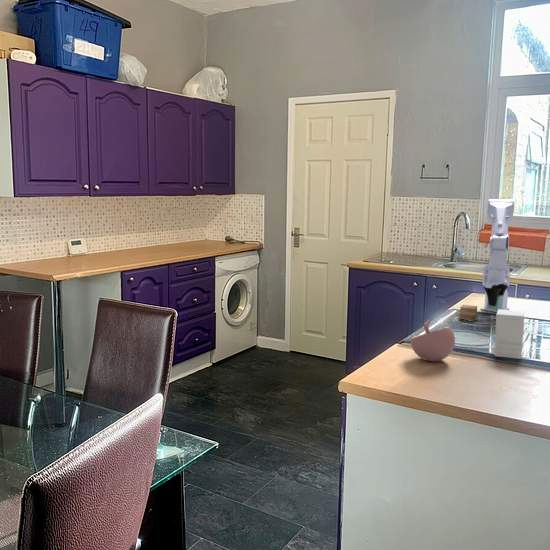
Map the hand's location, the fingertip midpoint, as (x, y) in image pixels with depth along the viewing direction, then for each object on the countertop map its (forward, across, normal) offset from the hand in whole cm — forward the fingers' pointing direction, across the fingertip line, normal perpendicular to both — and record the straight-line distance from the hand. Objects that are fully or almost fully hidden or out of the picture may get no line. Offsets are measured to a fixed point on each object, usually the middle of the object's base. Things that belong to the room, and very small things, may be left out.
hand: (494, 304), depth 208 cm
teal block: (+2, 0, 0) cm, 2 cm away
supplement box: (+5, -42, -22) cm, 48 cm away
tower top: (+3, -8, +6) cm, 11 cm away
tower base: (+5, -8, +6) cm, 12 cm away
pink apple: (+5, -63, -9) cm, 64 cm away
